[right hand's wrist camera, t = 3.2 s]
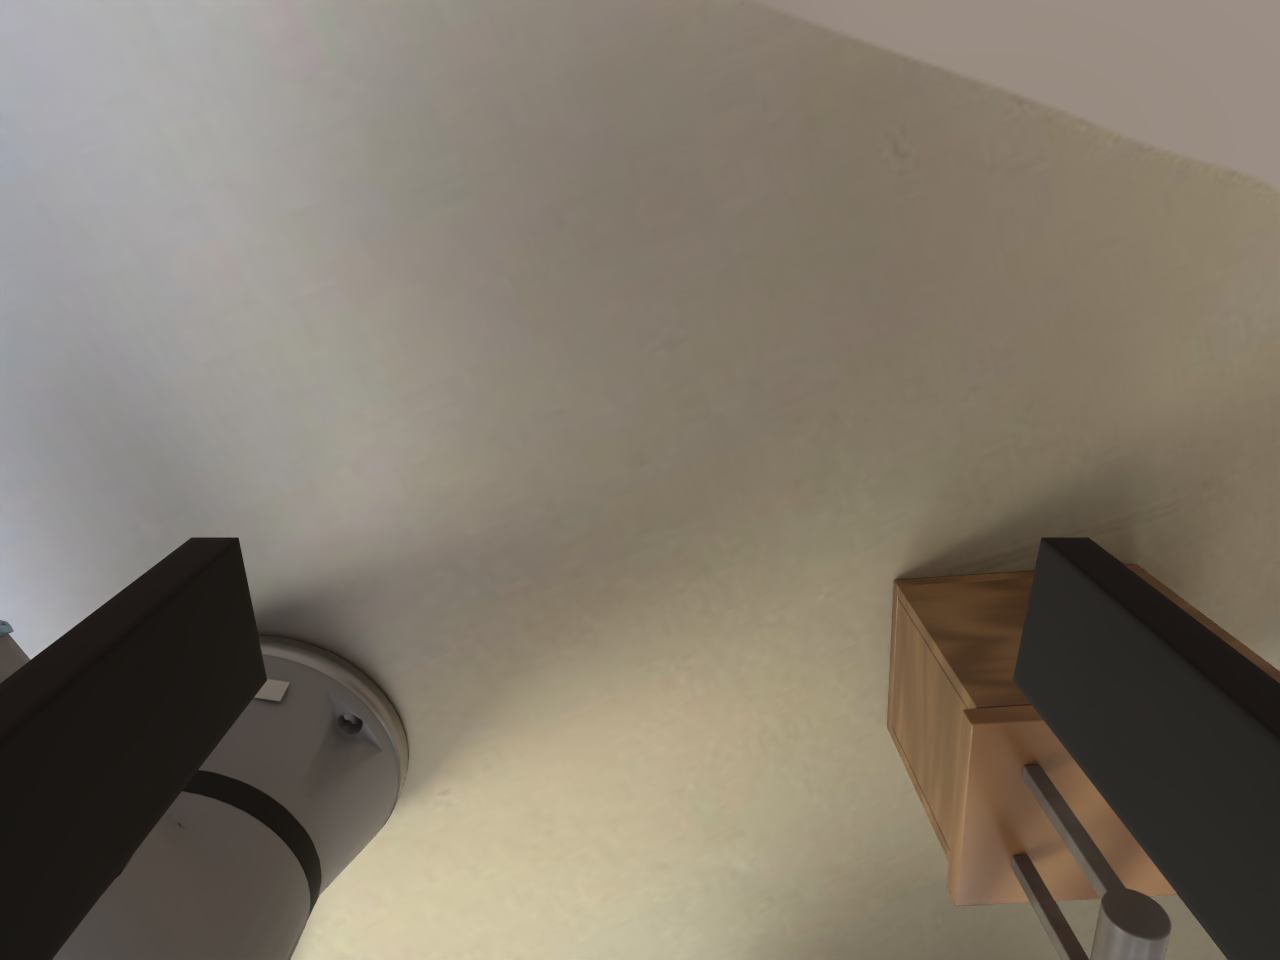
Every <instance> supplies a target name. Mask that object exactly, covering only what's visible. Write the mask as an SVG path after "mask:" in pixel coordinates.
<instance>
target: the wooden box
mask: <svg viewBox="0 0 1280 960" xmlns="http://www.w3.org/2000/svg"><path fill="white" fill-rule="evenodd" d="M1125 566H1126V567H1128V568H1129V569H1130V570H1132V571H1133V572H1134V573H1136V574H1137V575H1138V576H1139V577H1141V578H1142V579H1143V580H1145V581H1146V582H1147V583H1149V584H1150V585H1151V586H1153V587H1154V588H1155V589H1157V590H1158V591H1159V592H1160V593H1162V594H1163V595H1164V596H1166V597H1167V598H1168V599H1170V600H1171V601H1172V602H1174V603H1175V604H1176V605H1178V606H1179V607H1180V608H1181V609H1183V610H1184V611H1185V612H1187V613H1188V614H1189V615H1191V616H1192V617H1193V618H1195V619H1196V620H1197V621H1199V622H1200V623H1201V624H1202V625H1204V626H1205V627H1206V628H1208V629H1209V630H1210V631H1212V632H1213V633H1214V634H1216V635H1217V636H1218V637H1220V638H1221V639H1222V640H1224V641H1225V642H1226V643H1227V644H1229V645H1230V646H1231V647H1233V648H1234V649H1235V650H1237V651H1238V652H1239V653H1241V654H1242V655H1243V656H1245V657H1246V658H1247V659H1248V660H1250V661H1251V662H1252V663H1254V664H1255V665H1256V666H1258V667H1259V668H1260V669H1262V670H1263V671H1264V672H1266V673H1267V674H1268V675H1269V676H1271V677H1272V678H1273V679H1275V680H1276V681H1277V682H1279V683H1280V671H1278V670H1277V669H1276V668H1274V667H1273V666H1272V665H1270V664H1269V663H1268V662H1266V661H1265V660H1264V659H1262V658H1261V657H1260V656H1258V655H1257V654H1256V653H1254V652H1253V651H1252V650H1250V649H1249V648H1248V647H1246V646H1245V645H1244V644H1242V643H1241V642H1240V641H1238V640H1237V639H1236V638H1234V637H1233V636H1232V635H1230V634H1229V633H1228V632H1226V631H1225V630H1224V629H1222V628H1221V627H1220V626H1218V625H1217V624H1216V623H1214V622H1213V621H1212V620H1210V619H1209V618H1208V617H1206V616H1205V615H1204V614H1202V613H1201V612H1200V611H1198V610H1197V609H1196V608H1194V607H1193V606H1192V605H1190V604H1189V603H1188V602H1186V601H1185V600H1184V599H1182V598H1181V597H1180V596H1178V595H1177V594H1176V593H1174V592H1173V591H1172V590H1170V589H1169V588H1167V587H1166V586H1165V585H1163V584H1162V583H1161V582H1159V581H1158V580H1157V579H1155V578H1154V577H1153V576H1151V575H1150V574H1149V573H1147V572H1146V571H1144V569H1142V568H1141V567H1140V566H1138V565H1137V564H1132V565H1125ZM1034 572H1035V571H1024V572H1009V573H993V574H978V575H962V576H947V577H931V578H916V579H900V580H894V592H893V614H892V635H891V657H890V678H889V699H888V721H887V728H888V730H889V732H890V734H891V737H892V739H893V741H894V743H895V745H896V748H897V750H898V752H899V754H900V756H901V758H902V761H903V763H904V765H905V767H906V769H907V772H908V774H909V776H910V778H911V780H912V782H913V785H914V787H915V789H916V791H917V793H918V796H919V798H920V800H921V802H922V804H923V806H924V809H925V811H926V813H927V815H928V817H929V819H930V822H931V824H932V826H933V828H934V830H935V833H936V835H937V837H938V839H939V841H940V843H941V846H942V848H943V850H944V852H945V854H946V857H947V859H948V861H949V860H950V848H951V837H952V826H953V814H954V803H955V791H956V780H957V769H958V757H959V746H960V735H961V723H962V712H963V709H974V708H991V707H1008V706H1025V705H1031V703H1030V702H1029V701H1028V699H1027V698H1026V697H1025V696H1024V694H1023V693H1022V692H1021V690H1020V689H1019V688H1018V686H1017V685H1016V684H1015V683H1014V681H1013V676H1014V671H1015V666H1016V661H1017V657H1018V652H1019V647H1020V642H1021V637H1022V632H1023V627H1024V622H1025V617H1026V612H1027V607H1028V602H1029V597H1030V592H1031V587H1032V582H1033V577H1034Z"/></svg>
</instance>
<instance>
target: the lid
mask: <svg viewBox="0 0 1280 960" xmlns="http://www.w3.org/2000/svg"><path fill="white" fill-rule="evenodd" d="M947 889H948V891H949V893H950V896H951V898H952V900H953V903H954V905H955V906H966V905H985V904H1005V903H1024V902H1030V903H1031V905H1032V907H1033V908H1034V910H1035V912H1036V914H1037V916H1038V918H1039V919H1040V921H1041V923H1042V925H1043V927H1044V929H1045V930H1046V932H1047V934H1048V936H1049V938H1050V940H1051V941H1052V943H1053V945H1054V947H1055V949H1056V950H1057V952H1058V954H1059V956H1060V958H1061V960H1089V959H1088V957H1087V955H1086V954H1085V952H1084V950H1083V948H1082V947H1081V945H1080V943H1079V942H1078V940H1077V938H1076V936H1075V935H1074V933H1073V931H1072V930H1071V928H1070V926H1069V924H1068V923H1067V921H1066V919H1065V918H1064V916H1063V914H1062V912H1061V911H1060V909H1059V907H1058V906H1057V904H1056V902H1055V901H1063V900H1082V899H1101V904H1100V910H1099V915H1098V921H1097V926H1096V932H1095V937H1094V943H1093V948H1092V953H1091V959H1090V960H1164V958H1165V954H1166V949H1167V945H1168V941H1169V937H1170V932H1171V922H1170V919H1169V917H1168V915H1167V913H1166V912H1165V910H1164V909H1163V908H1162V907H1161V906H1160V905H1159V904H1158V903H1157V902H1156V901H1154V900H1153V899H1152V898H1150V897H1148V896H1159V895H1178V894H1177V893H1176V892H1175V890H1174V889H1173V888H1172V886H1171V885H1170V884H1169V883H1168V881H1167V880H1166V879H1165V877H1164V876H1163V875H1162V873H1161V872H1160V871H1159V870H1158V868H1157V867H1156V866H1155V864H1154V863H1153V862H1152V860H1151V859H1150V858H1149V857H1148V855H1147V854H1146V853H1145V851H1144V850H1143V849H1142V847H1141V846H1140V845H1139V844H1138V842H1137V841H1136V840H1135V838H1134V837H1133V836H1132V834H1131V833H1130V832H1129V831H1128V829H1127V828H1126V827H1125V825H1124V824H1123V823H1122V821H1121V820H1120V819H1119V818H1118V816H1117V815H1116V814H1115V812H1114V811H1113V810H1112V809H1111V807H1110V806H1109V805H1108V803H1107V802H1106V801H1105V799H1104V798H1103V797H1102V796H1101V794H1100V793H1099V792H1098V790H1097V789H1096V788H1095V786H1094V785H1093V784H1092V783H1091V781H1090V780H1089V779H1088V777H1087V776H1086V775H1085V773H1084V772H1083V771H1082V770H1081V768H1080V767H1079V766H1078V764H1077V763H1076V762H1075V760H1074V759H1073V758H1072V757H1071V755H1070V754H1069V753H1068V751H1067V750H1066V749H1065V747H1064V746H1063V745H1062V744H1061V742H1060V741H1059V740H1058V738H1057V737H1056V736H1055V734H1054V733H1053V732H1052V731H1051V729H1050V728H1049V727H1048V725H1047V724H1046V723H1045V722H1044V720H1043V719H1042V718H1041V716H1040V715H1039V714H1038V712H1037V711H1036V710H1035V709H1034V707H1033V706H1032V705H1025V706H1008V707H991V708H974V709H963V712H962V723H961V735H960V746H959V757H958V769H957V780H956V791H955V803H954V814H953V826H952V837H951V848H950V860H949V871H948V882H947Z"/></svg>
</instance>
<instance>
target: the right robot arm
mask: <svg viewBox="0 0 1280 960" xmlns="http://www.w3.org/2000/svg"><path fill="white" fill-rule="evenodd" d="M11 632H13V629H12V627H11V625H10V624H9V623H8V622H7V621H1V620H0V960H290V959H291V957H292V955H293V952H294V950H295V948H296V946H297V943H298V941H299V939H300V937H301V934H302V932H303V930H304V928H305V925H306V923H307V920H308V918H309V916H310V914H311V912H312V909H313V907H314V905H315V903H316V901H317V899H318V897H319V895H320V894H321V893H322V892H323V891H324V890H325V889H326V888H327V887H328V886H329V885H330V883H331V882H332V881H333V880H334V879H335V878H336V877H337V876H338V875H339V874H340V873H341V872H342V871H343V870H344V869H345V868H346V867H347V865H348V864H349V863H350V862H351V861H352V860H353V859H354V858H355V857H356V856H357V855H358V854H359V853H360V852H361V851H362V850H363V849H364V847H365V846H366V845H367V844H368V843H369V842H370V841H371V840H372V839H373V838H374V837H375V836H376V834H377V833H378V832H379V831H380V830H381V828H382V827H383V826H384V825H385V823H386V822H387V820H388V819H389V817H390V815H391V813H392V811H393V809H394V807H395V804H396V802H397V799H398V797H399V795H400V792H401V790H402V787H403V784H404V781H405V778H406V773H407V768H408V747H407V741H406V737H405V733H404V730H403V727H402V724H401V722H400V720H399V717H398V715H397V714H396V712H395V710H394V708H393V706H392V705H391V703H390V702H389V701H388V699H387V698H386V696H385V695H384V694H383V693H382V692H381V690H380V689H379V688H378V687H377V686H376V685H375V684H374V683H373V682H372V681H371V680H370V679H369V678H368V677H367V676H365V675H364V674H363V673H362V672H361V671H359V670H358V669H357V668H355V667H354V666H353V665H351V664H350V663H348V662H346V661H345V660H343V659H341V658H340V657H338V656H336V655H334V654H332V653H330V652H328V651H326V650H324V649H321V648H319V647H316V646H314V645H311V644H307V643H304V642H301V641H297V640H293V639H288V638H282V637H275V636H262V635H258V632H257V627H256V622H255V617H254V612H253V607H252V602H251V597H250V592H249V587H248V582H247V577H246V572H245V568H244V563H243V558H242V553H241V548H240V543H239V538H190V539H189V540H188V541H187V542H185V543H184V544H183V545H181V546H180V547H179V548H177V549H176V550H175V551H173V552H172V553H171V554H169V555H168V556H167V557H166V558H164V559H163V560H162V561H160V562H159V563H158V564H156V565H155V566H154V567H152V568H151V569H150V570H148V571H147V572H146V573H144V574H143V575H142V576H141V577H139V578H138V579H137V580H135V581H134V582H133V583H131V584H130V585H129V586H127V587H126V588H125V589H123V590H122V591H121V592H120V593H118V594H117V595H116V596H114V597H113V598H112V599H110V600H109V601H108V602H106V603H105V604H104V605H102V606H101V607H100V608H99V609H97V610H96V611H95V612H93V613H92V614H91V615H89V616H88V617H87V618H85V619H84V620H83V621H81V622H80V623H79V624H78V625H76V626H75V627H74V628H72V629H71V630H70V631H68V632H67V633H66V634H64V635H63V636H62V637H60V638H59V639H58V640H56V641H55V642H54V643H53V644H51V645H50V646H49V647H47V648H46V649H45V650H43V651H42V652H41V653H39V654H38V655H37V656H35V657H34V658H33V659H32V660H30V659H29V658H28V656H27V655H26V654H25V653H24V652H23V650H22V649H21V648H20V647H19V646H18V644H17V643H16V642H15V641H14V640H13V638H12V637H11V636H10V635H9V634H8V633H11ZM1013 681H1014V683H1015V684H1016V685H1017V686H1018V688H1019V689H1020V690H1021V692H1022V693H1023V694H1024V696H1025V697H1026V698H1027V699H1028V701H1029V702H1030V703H1031V705H1032V706H1033V707H1034V709H1035V710H1036V711H1037V712H1038V714H1039V715H1040V716H1041V718H1042V719H1043V720H1044V722H1045V723H1046V724H1047V725H1048V727H1049V728H1050V729H1051V731H1052V732H1053V733H1054V734H1055V736H1056V737H1057V738H1058V740H1059V741H1060V742H1061V744H1062V745H1063V746H1064V747H1065V749H1066V750H1067V751H1068V753H1069V754H1070V755H1071V757H1072V758H1073V759H1074V760H1075V762H1076V763H1077V764H1078V766H1079V767H1080V768H1081V770H1082V771H1083V772H1084V773H1085V775H1086V776H1087V777H1088V779H1089V780H1090V781H1091V783H1092V784H1093V785H1094V786H1095V788H1096V789H1097V790H1098V792H1099V793H1100V794H1101V796H1102V797H1103V798H1104V799H1105V801H1106V802H1107V803H1108V805H1109V806H1110V807H1111V809H1112V810H1113V811H1114V812H1115V814H1116V815H1117V816H1118V818H1119V819H1120V820H1121V821H1122V823H1123V824H1124V825H1125V827H1126V828H1127V829H1128V831H1129V832H1130V833H1131V834H1132V836H1133V837H1134V838H1135V840H1136V841H1137V842H1138V844H1139V845H1140V846H1141V847H1142V849H1143V850H1144V851H1145V853H1146V854H1147V855H1148V857H1149V858H1150V859H1151V860H1152V862H1153V863H1154V864H1155V866H1156V867H1157V868H1158V870H1159V871H1160V872H1161V873H1162V875H1163V876H1164V877H1165V879H1166V880H1167V881H1168V883H1169V884H1170V885H1171V886H1172V888H1173V889H1174V890H1175V892H1176V893H1177V894H1178V896H1179V897H1180V898H1181V899H1182V901H1183V902H1184V903H1185V905H1186V906H1187V907H1188V908H1189V910H1190V911H1191V912H1192V914H1193V915H1194V916H1195V918H1196V919H1197V920H1198V921H1199V923H1200V924H1201V925H1202V927H1203V928H1204V929H1205V931H1206V932H1207V933H1208V934H1209V936H1210V937H1211V938H1212V940H1213V941H1214V942H1215V944H1216V945H1217V946H1218V947H1219V949H1220V950H1221V951H1222V953H1223V954H1224V955H1225V957H1226V958H1227V959H1228V960H1280V683H1279V682H1277V681H1276V680H1275V679H1273V678H1272V677H1271V676H1269V675H1268V674H1267V673H1266V672H1264V671H1263V670H1262V669H1260V668H1259V667H1258V666H1256V665H1255V664H1254V663H1252V662H1251V661H1250V660H1248V659H1247V658H1246V657H1245V656H1243V655H1242V654H1241V653H1239V652H1238V651H1237V650H1235V649H1234V648H1233V647H1231V646H1230V645H1229V644H1227V643H1226V642H1225V641H1224V640H1222V639H1221V638H1220V637H1218V636H1217V635H1216V634H1214V633H1213V632H1212V631H1210V630H1209V629H1208V628H1206V627H1205V626H1204V625H1202V624H1201V623H1200V622H1199V621H1197V620H1196V619H1195V618H1193V617H1192V616H1191V615H1189V614H1188V613H1187V612H1185V611H1184V610H1183V609H1181V608H1180V607H1179V606H1178V605H1176V604H1175V603H1174V602H1172V601H1171V600H1170V599H1168V598H1167V597H1166V596H1164V595H1163V594H1162V593H1160V592H1159V591H1158V590H1157V589H1155V588H1154V587H1153V586H1151V585H1150V584H1149V583H1147V582H1146V581H1145V580H1143V579H1142V578H1141V577H1139V576H1138V575H1137V574H1136V573H1134V572H1133V571H1132V570H1130V569H1129V568H1128V567H1126V566H1125V565H1124V564H1122V563H1121V562H1120V561H1118V560H1117V559H1116V558H1114V557H1113V556H1112V555H1111V554H1109V553H1108V552H1107V551H1105V550H1104V549H1103V548H1101V547H1100V546H1099V545H1097V544H1096V543H1095V542H1093V541H1092V540H1091V539H1090V538H1041V543H1040V548H1039V553H1038V558H1037V563H1036V568H1035V572H1034V577H1033V582H1032V587H1031V592H1030V597H1029V602H1028V607H1027V612H1026V617H1025V622H1024V627H1023V632H1022V637H1021V642H1020V647H1019V652H1018V657H1017V661H1016V666H1015V671H1014V676H1013Z"/></svg>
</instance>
